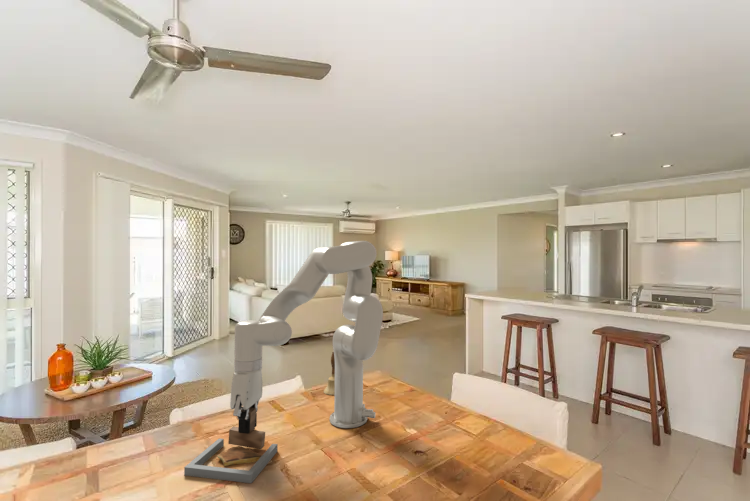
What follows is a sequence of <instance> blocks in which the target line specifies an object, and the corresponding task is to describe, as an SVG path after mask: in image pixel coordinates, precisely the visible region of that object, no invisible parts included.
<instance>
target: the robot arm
mask: <svg viewBox="0 0 750 501" xmlns="http://www.w3.org/2000/svg"><path fill="white" fill-rule="evenodd" d="M377 255H378V254H377V248H376V247H375V246H374V244H373V243H372V242H370V241H368V240H353V241H345V242H343V243H341V244H340V245H335V246H319V247H317V248H315V249H313V250H312V251H311V252H310V254H309V255H308V256H307V258H306V259H305V261H304V262H303V264H302V266H300V268H299V270H298V271H297V273H296V274H295V275H294V277H293V278H292V280H291V281H290V283H289V284H287V286H286V287H284V288H283V290H281V291H280V293H278V295H276V296H275V297H274V298H273V300H272V301H270V303H269V304H268V305H267V307H266V308H265V310H264V311H263V313H262V314H261V316H260V317H259V318H258V320H256V319H255V320H254V319H253V320H252V319H251V320H250V319H249V320H247V319H246V320H241V321H239V322H237V323H236V324H235V325H234V359H233V360H234V363H233V364H234V365H233V366H234V367H233V369H234V370H233V372H234V373H233V376H232V382H231V389H230V402H229V403H230V406H229V407H230V409H231V410H233V414H232V415H233V416H234V417H237V420H238V426H237V427H238V432H239V433H246V434H248V433H250V418H249V408H250V407H252V408H256V420H255V428H256V427H257V424H258V423H257V422H258V421H257V420H258V418H257V414H258V411H259V410H258V405H259V402H260V401H261V398H262V397H263V373H262V370H263V346H264V347H265V346H268V347H269V346H272V347H273V346H274V347H276V346H281V345H284V344H286V343H287V342H289V340H290V339H291V337H292V334H293V331H292V330H293V329H292V327H291V325H290V323H289V322H287V321H286V319H287V318H288V317H289V315H290V314H291V313H292V312H293V311H294V310H296V309H297V308H298V307H299V306H302V305H304V304H306V303H308V302H309V301H311V300H312V299H314V298H315V296H316V294H317V293H318V292H319V290H320V288H321V286H322V285H323V284H324V282H325V281H326V279H327V277H328V276H329V275H338V274H343V273H347V275H346V276H347V284H346V289H345V293H344V298H343V303H342V314H343V315H342V316H344V318H345V319H346V320H348V321H349V322H354V323H355V324H354V325H353V324H352V325H351V324H343V325H341V326H339V327H338V328H336V329H335V331H334V332H333V336H332V349H333V352H334V358H335V395H334V404H333V406H334V407H333V408H334V409H333V410H334V412H332V413H331V414H330V415H329V422H330V424H331V425H333V426H334V427H337V428H341V429H353V428H359V427H362V426H363V425H364V424H366V423H367V421H368V418H369V419H376V411H374V409H373V408H371V409H369V408H366V404H365V403H364V400H363V398H364V362H363V361H367V360H369V359H371V358H372V357H373V356H374V354H375V353H376V351H377V349H378V345H379V341H380V340H379V339H380V334H381V330H382V329H381V328H382V323H383V317H384V310H383V306H382V303H381V301H380V300H379V299H378V298H377V297H375V296H373V295H371V294H372V293H371V292H372V286H373V273H372V270H371V267H370V266H371V265H372V264H373V263H374V262H375V261H376V258H377ZM242 410H244V411H245V413H244V412H242Z"/></svg>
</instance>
